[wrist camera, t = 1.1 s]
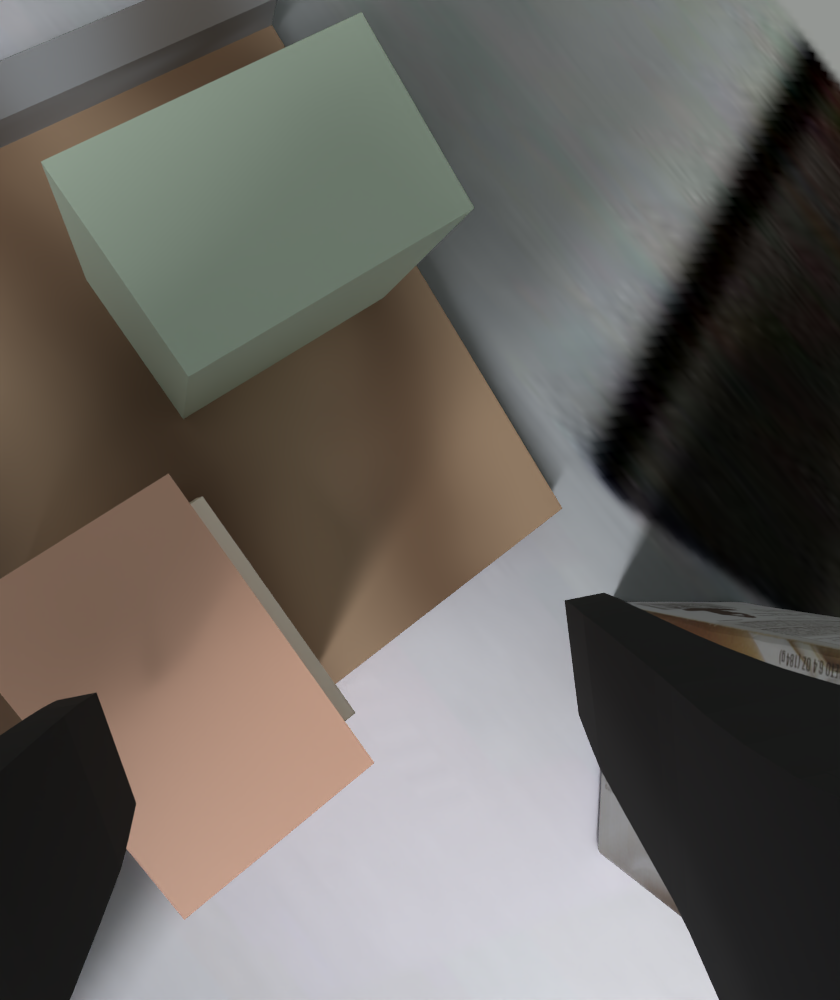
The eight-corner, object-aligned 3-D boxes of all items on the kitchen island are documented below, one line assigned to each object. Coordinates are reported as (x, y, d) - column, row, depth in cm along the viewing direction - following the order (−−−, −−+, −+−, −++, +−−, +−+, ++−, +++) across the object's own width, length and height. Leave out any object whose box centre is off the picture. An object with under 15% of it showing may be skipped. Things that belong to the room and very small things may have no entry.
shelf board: (5, 921, 20) (-17, 976, 17) (-509, 334, 16) (-620, 307, 14) (544, 508, 25) (581, 508, 23) (240, 6, 22) (248, -52, 19)
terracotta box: (180, 781, 20) (184, 919, 13) (21, 577, 19) (-62, 617, 12) (319, 675, 21) (386, 753, 15) (179, 478, 20) (182, 464, 13)
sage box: (383, 297, 22) (474, 207, 15) (183, 419, 20) (188, 377, 13) (296, 157, 21) (353, -3, 14) (79, 269, 19) (30, 146, 13)
